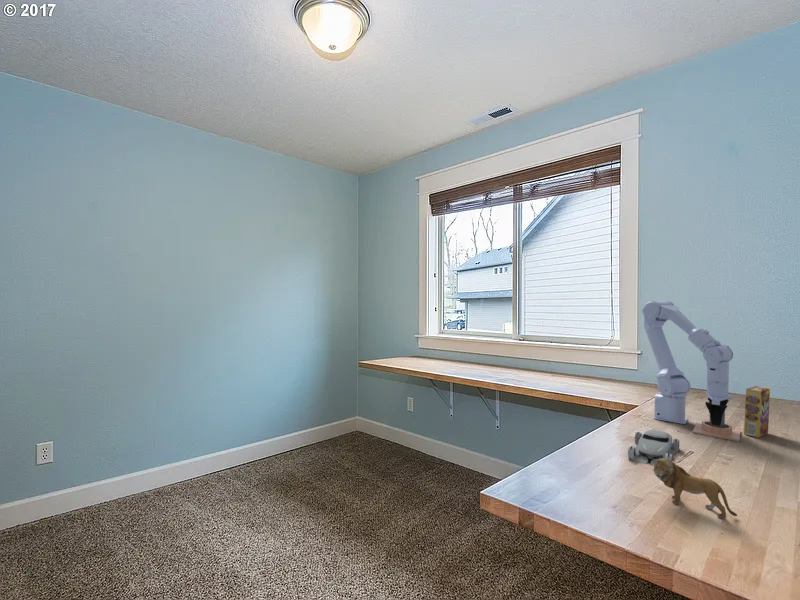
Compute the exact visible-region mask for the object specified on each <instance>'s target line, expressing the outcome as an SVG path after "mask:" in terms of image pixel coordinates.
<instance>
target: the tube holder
mask: <svg viewBox="0 0 800 600" xmlns="http://www.w3.org/2000/svg"><path fill="white" fill-rule="evenodd" d="M695 433H698V434H697V435H701V434H703V435H702V436H706V435H708V436H707V437H712V436H714V437H713V438H717V437H718V439H723V438H724V439H723V440H728V441H734V442H740V441H741V430H740V429H734V428H733V426H732V425H730V424H727V423H725V428H719V427H713V426H710V420H704V421H702V422H701V423H699V422H695V425H694V427H693V430H692V434H695Z"/></svg>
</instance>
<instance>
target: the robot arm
mask: <svg viewBox="0 0 800 600" xmlns="http://www.w3.org/2000/svg"><path fill="white" fill-rule="evenodd" d="M641 311H642V315H643V329H644V330H645V333H646V336H647V338H648V341H649V344H650V347H651V350H652V352H653V356H654V358H655V361H656V363H657V366H658V369H659V372H658V373H657V375H656V379H657V389H658V392H659V393H655V395H654V415H653V416H654V417H653V419H655V420H659V421H663V422H664V421H666V422H670V423H676V424H681V425H685V424H687V421H688V418H687V417H686V403H687V402H686V399H687V398H686V397H687V394H688V393H689V392H690V390H691V387H692V386H691V382H690V381H689V380H688V379H687V377H686V376H685V373H684V372H683V371H682V370H680V369H679V368H678V367H677V364H676V362H675V360H674V356H673V355H672V351H671V349H670V345H669V343H668V341H667V337H666V335H665V333H664V330H663V326H664V325H665V323H667V322H668V321H671V322H672V323H673V324H675V325H676V326H677V327H678V328H679V329H681V330H682V331H684V332H685V333H686V334H687V335H688V336H687V337H688V341H689V342H690V343H692V344H693V345H694V346H695V347H696V348H697V349H698V350H699V351H700V352H701V353H702V356H703V360H705V362H706V393H705V396H706V397H707V400H708V401H705V406H706V408H707V410H708V413H709V419H710V418H711V423H712V425H718V426H720V424H721V421H722V416H723V413H724V411H725V412H726V410H727V408H728V405H727V404H728V403H729V401H730V400H733V398H734V397H733V396H732V395H729V374H730V371H729V369H730V362H731V361H732V360H733V358H734V353H733V352H734V351H733V350H732V349H731V348H730V346H729V345H726V344H721V341H719V340H717V339H715V338H714V337H713V336H712V334H710V331H709V330H708V329H704V328H698V327H696V325H695V324H694V323H693V322H692V321H691V320H689V318H687V316H685V315H684V313H682V311H680V308H679V306H677V305H675V303H673V302H672V301H669V300H665V301H664V300H662V301H661V300H660V301H659V300H649V301H647V302H646V303H645V304H644V306H643V308H642V310H641Z"/></svg>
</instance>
